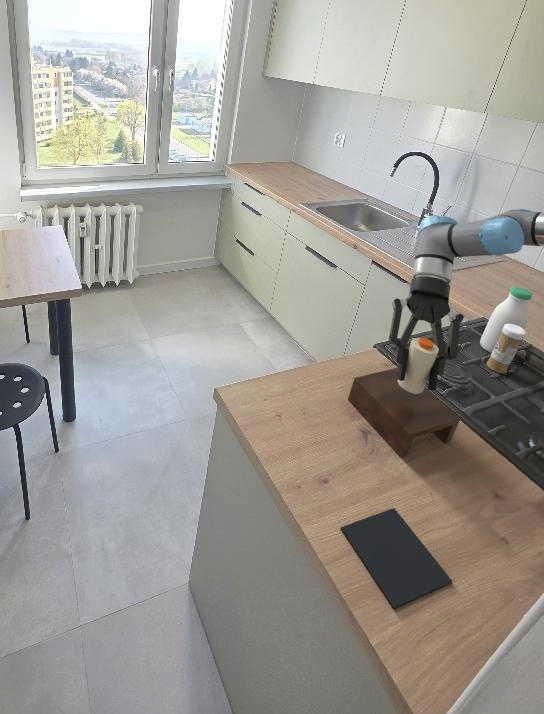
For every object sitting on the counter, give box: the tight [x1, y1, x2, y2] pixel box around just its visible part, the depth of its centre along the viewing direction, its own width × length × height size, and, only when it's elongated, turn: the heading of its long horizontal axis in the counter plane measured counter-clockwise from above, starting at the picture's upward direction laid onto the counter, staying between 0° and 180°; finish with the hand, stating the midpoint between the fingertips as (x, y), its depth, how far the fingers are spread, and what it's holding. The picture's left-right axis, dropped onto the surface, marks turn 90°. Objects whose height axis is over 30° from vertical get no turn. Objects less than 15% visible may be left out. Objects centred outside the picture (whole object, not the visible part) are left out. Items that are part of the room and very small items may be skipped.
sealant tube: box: [398, 337, 439, 394], centre depth 90 cm, size 5×5×12 cm
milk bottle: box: [479, 286, 533, 354], centre depth 117 cm, size 8×8×20 cm
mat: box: [340, 507, 453, 610], centre depth 71 cm, size 12×12×1 cm
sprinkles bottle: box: [486, 324, 527, 374], centre depth 111 cm, size 5×5×14 cm
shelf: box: [347, 366, 461, 458], centre depth 95 cm, size 16×14×7 cm
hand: (416, 384), depth 87 cm, fingers closed on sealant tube, 5 cm apart
